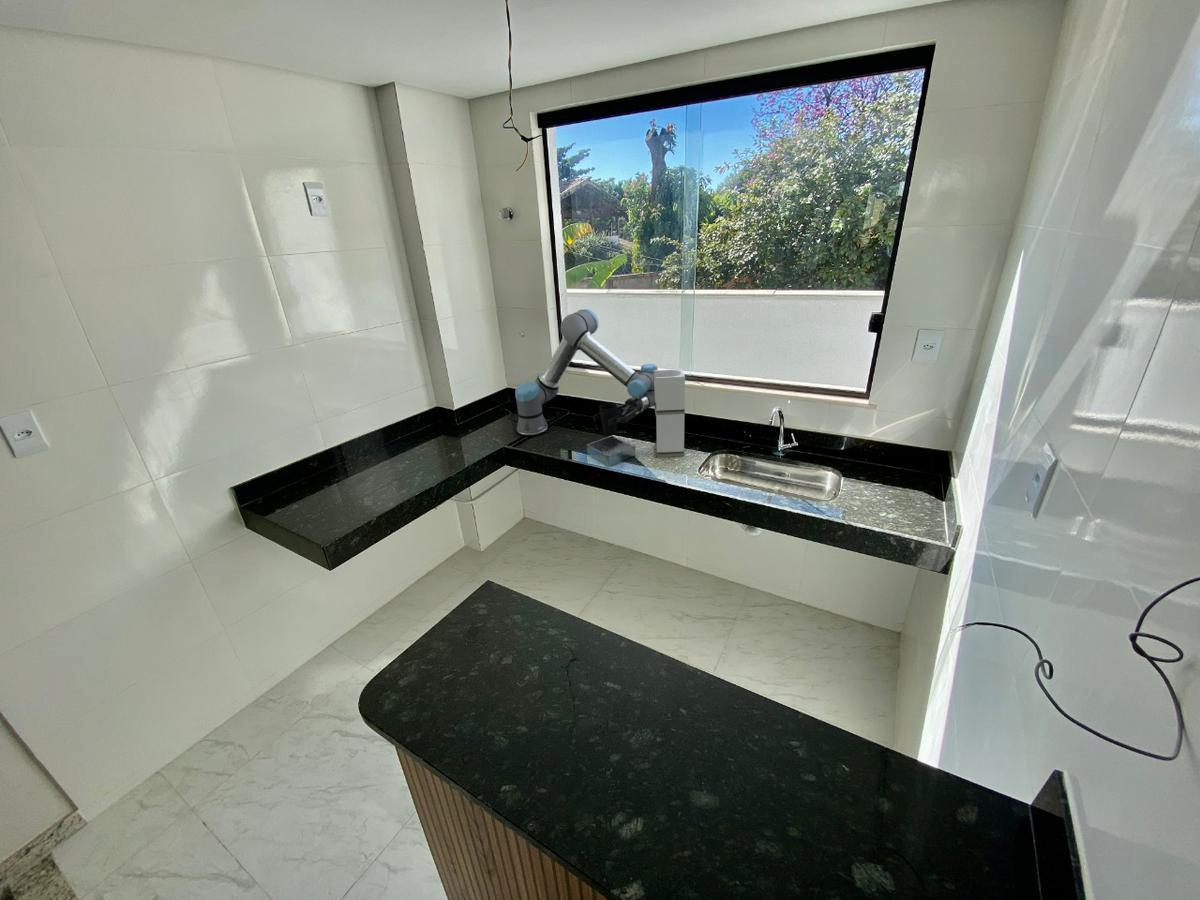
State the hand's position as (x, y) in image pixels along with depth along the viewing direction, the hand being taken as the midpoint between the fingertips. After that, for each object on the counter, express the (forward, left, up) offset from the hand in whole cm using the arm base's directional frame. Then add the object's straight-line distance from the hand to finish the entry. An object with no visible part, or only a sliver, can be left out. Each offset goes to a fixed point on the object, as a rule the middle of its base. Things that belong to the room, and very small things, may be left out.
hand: (601, 420), depth 201 cm
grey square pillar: (+14, +25, -18) cm, 34 cm away
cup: (-1, +5, -7) cm, 9 cm away
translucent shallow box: (-1, +4, -18) cm, 18 cm away
